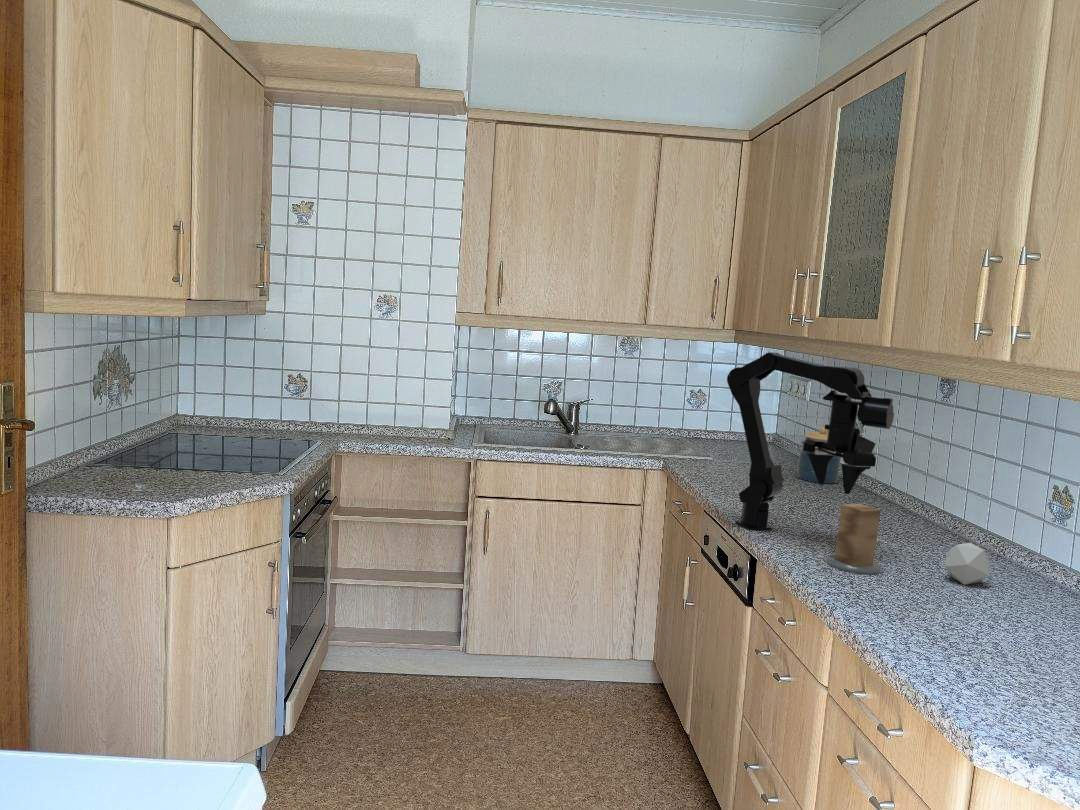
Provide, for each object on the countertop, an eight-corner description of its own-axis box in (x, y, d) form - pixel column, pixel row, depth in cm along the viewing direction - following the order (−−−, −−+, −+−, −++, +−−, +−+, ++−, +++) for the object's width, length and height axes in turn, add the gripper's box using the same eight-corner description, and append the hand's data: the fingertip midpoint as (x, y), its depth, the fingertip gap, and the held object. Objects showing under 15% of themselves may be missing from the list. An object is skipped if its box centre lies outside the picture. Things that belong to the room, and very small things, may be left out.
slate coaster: (815, 558, 189) (815, 555, 189) (856, 557, 192) (857, 554, 192) (848, 575, 178) (849, 571, 178) (892, 574, 182) (892, 570, 182)
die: (958, 576, 188) (937, 539, 186) (1000, 566, 183) (978, 528, 181) (955, 598, 181) (934, 560, 180) (998, 588, 176) (976, 550, 175)
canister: (840, 486, 278) (848, 431, 276) (798, 481, 280) (805, 426, 278) (834, 478, 291) (841, 426, 289) (794, 473, 293) (801, 422, 291)
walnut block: (834, 559, 186) (841, 504, 185) (852, 557, 189) (860, 503, 188) (854, 567, 182) (862, 511, 180) (872, 565, 184) (880, 510, 183)
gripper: (900, 430, 193) (890, 499, 195) (844, 417, 210) (836, 480, 212) (859, 428, 189) (849, 498, 191) (806, 415, 206) (797, 480, 208)
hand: (833, 489), depth 201 cm, fingers open, 9 cm apart
